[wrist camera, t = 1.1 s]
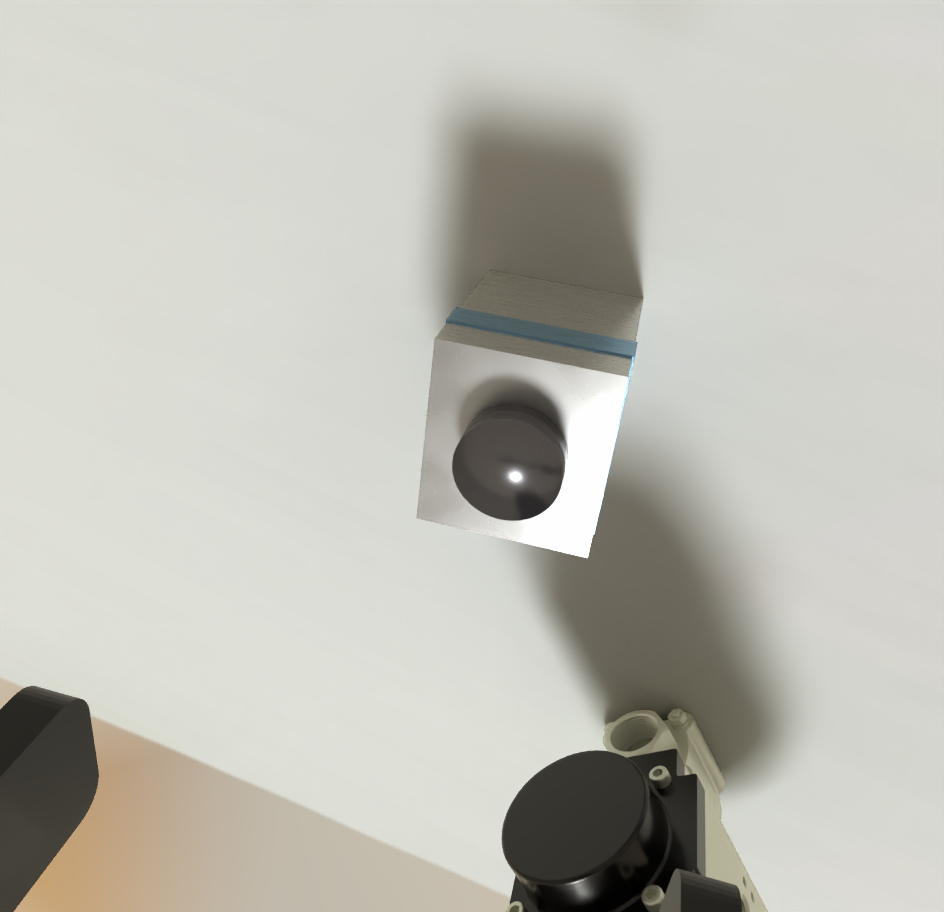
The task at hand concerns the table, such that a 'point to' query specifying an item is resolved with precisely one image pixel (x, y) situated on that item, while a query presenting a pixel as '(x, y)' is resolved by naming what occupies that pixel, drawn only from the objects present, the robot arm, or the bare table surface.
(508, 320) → the grey box with knob
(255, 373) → the table surface
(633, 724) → the pneumatic valve
